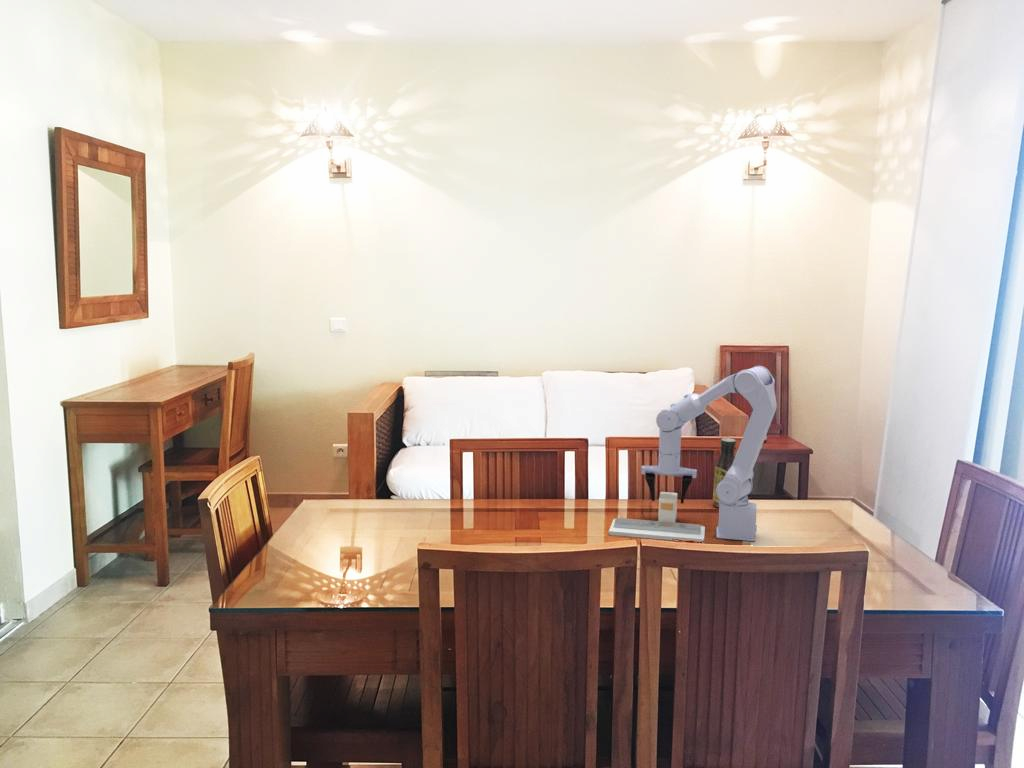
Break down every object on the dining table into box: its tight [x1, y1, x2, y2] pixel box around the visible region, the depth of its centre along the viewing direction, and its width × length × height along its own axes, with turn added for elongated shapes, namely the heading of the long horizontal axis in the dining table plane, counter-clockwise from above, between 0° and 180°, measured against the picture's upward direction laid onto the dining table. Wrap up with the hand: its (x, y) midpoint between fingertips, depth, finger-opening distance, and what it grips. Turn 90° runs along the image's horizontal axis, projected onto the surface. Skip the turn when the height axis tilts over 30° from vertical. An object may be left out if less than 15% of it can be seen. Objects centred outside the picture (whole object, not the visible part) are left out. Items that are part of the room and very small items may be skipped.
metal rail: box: [614, 517, 702, 535], centre depth 207 cm, size 22×4×2 cm, turn 75°
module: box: [657, 491, 678, 523], centre depth 216 cm, size 4×7×7 cm, turn 165°
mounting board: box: [608, 518, 706, 544], centre depth 207 cm, size 24×10×1 cm, turn 75°
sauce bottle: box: [712, 437, 737, 508], centre depth 227 cm, size 7×6×20 cm
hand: (667, 501), depth 216 cm, fingers open, 7 cm apart
